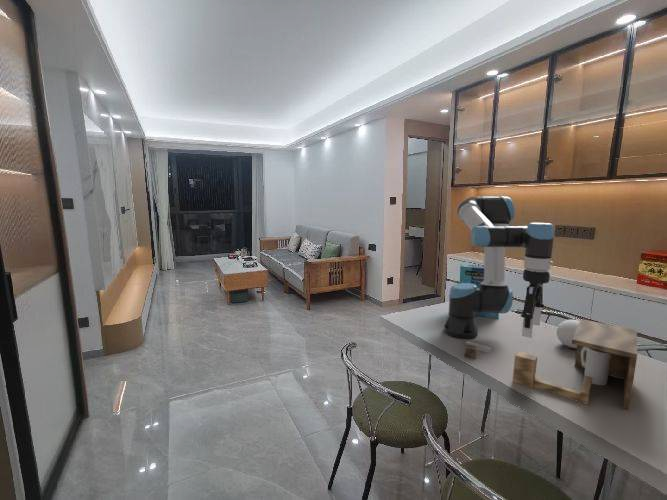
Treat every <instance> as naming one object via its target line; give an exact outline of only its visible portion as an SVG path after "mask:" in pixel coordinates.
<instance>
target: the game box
mask: <svg viewBox="0 0 667 500" xmlns="http://www.w3.org/2000/svg"><path fill="white" fill-rule="evenodd" d="M459 267H460V268H459V269H460V271H459V284H460V283H469V284H470V283H472V284H475V285H476V286H477V288H480V283H481V282H482V281H483V280H484V265H478V264H477V265H476V264H463V263H462V264H460V265H459ZM475 317H481V318H489V319H497V320H498V319H499V317H500V316H499V314H495V313H475Z"/></svg>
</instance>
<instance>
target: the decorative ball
mask: <svg viewBox="0 0 667 500" xmlns="http://www.w3.org/2000/svg"><path fill="white" fill-rule="evenodd" d="M579 322H580V320H578V319H566V320H564V321H562V322H560V323H559V324H558V325H557V328H556V336H557V339H558V340H559V342H561V344H562V345H564V346H566V347H568V348H569V349H570V348H571V349H577V345H575V344H572V339H573V337H574V334H575V332H576V329H577V327H578V324H579Z"/></svg>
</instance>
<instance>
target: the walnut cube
mask: <svg viewBox="0 0 667 500" xmlns="http://www.w3.org/2000/svg"><path fill="white" fill-rule="evenodd" d="M476 347H477V346H473V345H468V344H466V346H465V348H464V358H466V359H471V360H476V356H477V349H476Z"/></svg>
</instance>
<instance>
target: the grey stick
mask: <svg viewBox="0 0 667 500" xmlns="http://www.w3.org/2000/svg"><path fill="white" fill-rule="evenodd" d="M466 344H468V345H473V346H477V347H476V351H477V350H478V351H481V352H485V353H488V354H490V353H491V352H492V347H489V346H486V345H483V344H481V343H477V342H472V341H470V340H466V341H465V347H466Z"/></svg>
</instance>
